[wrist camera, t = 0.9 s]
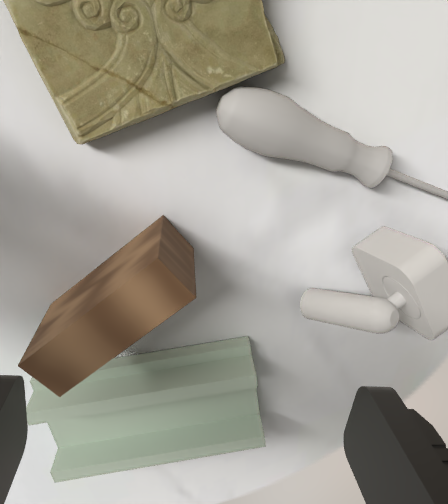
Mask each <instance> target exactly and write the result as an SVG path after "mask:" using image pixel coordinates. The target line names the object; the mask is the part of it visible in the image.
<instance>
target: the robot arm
mask: <svg viewBox="0 0 448 504" xmlns="http://www.w3.org/2000/svg"><path fill="white" fill-rule="evenodd" d="M27 428H28V426H27V413H26V401H25V388H24V380H23V377H22V376H12V375H0V504H4V502H5V500H6V497H7V495H8V492H9V489H10V487H11V484H12V482H13V479H14V476H15V474H16V471H17V469H18V466H19V464H20V461H21V458H22V456H23V453H24V449H25V445H26V439H27ZM344 449H345V454H346V457H347V460H348V462H349V464H350V467H351V469H352V471H353V474H354V476H355V479H356V480H357V483H358V486H359V488H360V490H361V493H362V495H363V497H364V500H365V502H366V504H448V449H447V448H446V444H445V443H444V441H443V440H442V438H441V437H440V436H439V434H438V433H437V431H436V430H435V429H434V427H433V426H432V425H431V424H430V423H429V422H428V421H426V420H425V419H424V418H423V417H422V416H421V415H420V414H418V413H417V412H416V411H415V410H414V409H407V407H406V406H405V404H404V403H403V401H402V400H401V398H400V397H399V395H398V394H397V392H396V391H395V390H394V389H393V388H391V387H367V386H362V387H360V388H359V389H358V391H357V393H356V396H355V399H354V402H353V406H352V409H351V412H350V415H349V418H348V421H347V424H346V428H345V431H344Z"/></svg>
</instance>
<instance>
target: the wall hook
mask: <svg viewBox="0 0 448 504" xmlns="http://www.w3.org/2000/svg"><path fill="white" fill-rule="evenodd" d="M352 253H353V256H354V258H355V260H356V262H357V264H358V266H359V269H360V271H361V273H362V275H363V277H364V279H365V281H366V283H367V286H368V288H369V290H370V292H371V294H372V296H367V295H359V294H352V293H345V292H338V291H330V290H323V289H316V288H309V289H307V290H306V291H305V292H304V293H303V295H302V298H301V301H300V309H301V313H302V315H303V316H304V317H305V318H307V319H311V320H316V321H321V322H325V323H330V324H335V325H339V326H344V327H348V328H353V329H358V330H363V331H367V332H372V333H386V332H389V331H391V330H392V329H394V328H395V327H396V326H397V324H398V322H399V321H401V322H402V323H404V324H405V325H407V326H408V327H410V328H411V329H413V330H414V331H416V332H417V333H419V334H420V335H422V336H424V337H425V338H427V339H429V340H434V339H435V338H436V337H438V336H439V335H440V334H442V333H443V332H444V331H446V330H447V329H448V261H447V259H446V257H445V256H444V254H443V253H442V252H441V251H440V250H439V249H438V248H437V247H436V246H434V245H433V244H431V243H428V242H426V241H423V240H421V239H418V238H415V237H412V236H410V235H407V234H404V233H402V232H399V231H396V230H394V229H391V228H388V227H385V226H383V227H381V228H379V229H378V230H376V231H375V232H374V233H372V234H371V235H369V236H368V237H366V238H365V239H364V240H362V241H361V242H359V243H358V244H356V245H355V246H354V247H352Z"/></svg>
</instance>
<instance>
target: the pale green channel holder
mask: <svg viewBox="0 0 448 504" xmlns="http://www.w3.org/2000/svg"><path fill="white" fill-rule="evenodd" d="M30 383H31V385H32V388H33V390H34V392H33V394H32V396H31V398H30V401H29V403H28V405H27V407H26V413H27V422H28V425H34V424H40V423H46V422H47V423H48V425H49V428H50V430H51V432H52V435H53V437H54V440H55V442H56V444H57V447H58V450H57V453H56V456H55V460H54V463H53V466H52V469H51V472H50V473H51V475H52V478H53V480H54V482H61V481H67V480H73V479H79V478H85V477H90V476H96V475H102V474H108V473H114V472H120V471H125V470H131V469H137V468H143V467H149V466H155V465H160V464H166V463H172V462H178V461H184V460H190V459H195V458H201V457H207V456H213V455H219V454H225V453H230V452H236V451H242V450H248V449H254V448H260V447H265V446H266V445H265V437H264V432H263V427H262V423H261V418H260V413H259V406H258V398H257V391H256V387H258V385H257V377H256V372H255V367H254V363H253V359H252V354H251V347H250V342H249V337H248V336H246V337H240V338H234V339H228V340H222V341H216V342H210V343H204V344H198V345H192V346H186V347H180V348H174V349H168V350H162V351H156V352H150V353H144V354H138V355H131V356H125V357H119V358H113V359H112V360H110V361H109V362H107V363H106V364H105V365H103V366H102V367H101V368H99V369H98V370H96V371H95V372H94V373H92V374H91V375H90V376H88V377H87V378H86V379H84V380H83V381H81V382H80V383H79V384H77V385H76V386H75V387H73V388H72V389H70V390H69V391H68V392H66V393H65V394H64V395H62V396H61V397H58V396H57V395H56V394H54V393H53V392H52V391H50V390H49V389H48V388H47V387H45V386H44V385H43V384H41V383H40V382H39V381H37V380H36V379H35V378H33V377H32V378H31V380H30Z"/></svg>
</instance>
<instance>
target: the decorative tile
mask: <svg viewBox="0 0 448 504" xmlns="http://www.w3.org/2000/svg"><path fill="white" fill-rule="evenodd" d="M3 1H4V3H5V5H6V7H7V9H8V10H9V12H10V14H11V17H12V19H13V21H14V23H15V25H16V27H17V29H18V31H19V34H20V37H21V39H22V41H23V43H24V45H25V47H26V48H27V50H28V52H29V54H30V56H31V58H32V60H33V62H34V64H35V66H36V68H37V70H38V72H39V74H40V76H41V78H42V80H43V82H44V83H45V85H46V87H47V89H48V91H49V93H50V95H51V97H52V99H53V100H54V102H55V104H56V106H57V108H58V110H59V112H60V114H61V116H62V118H63V120H64V122H65V124H66V126H67V128H68V130H69V131H70V133H71V135H72V137H73V139H74V140H75V142H76V143H77V144H85V143H87V142H90V141H92V140H96V139H98V138H101V137H103V136H106V135H108V134H111V133H113V132H116V131H118V130H121V129H123V128H125V127H128V126H131V125H134V124H136V123H140V122H142V121H145V120H147V119H150V118H152V117H155V116H157V115H160V114H162V113H164V112H166V111H169V110H171V109H173V108H175V107H178V106H181V105H183V104H186V103H188V102H191V101H194V100H197V99H200V98H202V97H205V96H207V95H209V94H211V93H214V92H216V91H219V90H222V89H224V88H227V87H229V86H232V85H234V84H237V83H239V82H242V81H244V80H246V79H248V78H250V77H253V76H255V75H258V74H260V73H263V72H265V71H267V70H270V69H273V68H275V67H277V66H279V65H281V64H283V63H284V61H285V58H284V54H283V51H282V49H281V46H280V44H279V39H278V37H277V35H276V34H275V32H274V29H273V27H272V25H271V24H270V22H269V21H268V19H267V17H266V16H265V14H264V7H263V4H262V0H3Z"/></svg>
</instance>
